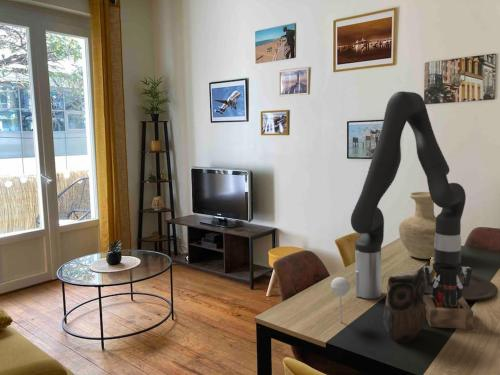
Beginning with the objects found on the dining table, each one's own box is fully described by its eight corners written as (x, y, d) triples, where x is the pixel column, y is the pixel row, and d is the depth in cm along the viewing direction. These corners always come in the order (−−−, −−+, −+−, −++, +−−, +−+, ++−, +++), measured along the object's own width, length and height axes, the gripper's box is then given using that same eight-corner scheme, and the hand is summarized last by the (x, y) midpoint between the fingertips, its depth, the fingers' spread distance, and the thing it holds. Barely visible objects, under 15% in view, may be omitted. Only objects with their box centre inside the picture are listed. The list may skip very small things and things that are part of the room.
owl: (426, 327, 128) (426, 264, 125) (427, 347, 116) (428, 279, 114) (383, 322, 133) (383, 262, 130) (380, 341, 121) (380, 275, 118)
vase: (406, 247, 211) (406, 189, 207) (454, 253, 198) (456, 191, 194) (392, 259, 193) (392, 196, 189) (445, 267, 180) (446, 199, 176)
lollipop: (346, 328, 130) (345, 282, 128) (328, 324, 133) (327, 279, 131) (352, 319, 135) (352, 275, 133) (335, 316, 138) (334, 273, 136)
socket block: (430, 326, 128) (430, 309, 127) (422, 310, 140) (423, 294, 139) (472, 329, 125) (473, 311, 125) (461, 311, 137) (462, 296, 136)
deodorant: (458, 316, 129) (460, 270, 127) (438, 315, 130) (439, 269, 128) (453, 308, 135) (454, 263, 133) (434, 307, 136) (434, 263, 134)
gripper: (425, 250, 127) (424, 302, 130) (476, 251, 124) (474, 304, 127) (420, 243, 135) (420, 292, 137) (469, 244, 131) (467, 294, 134)
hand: (446, 298), depth 132 cm, fingers closed on deodorant, 6 cm apart
